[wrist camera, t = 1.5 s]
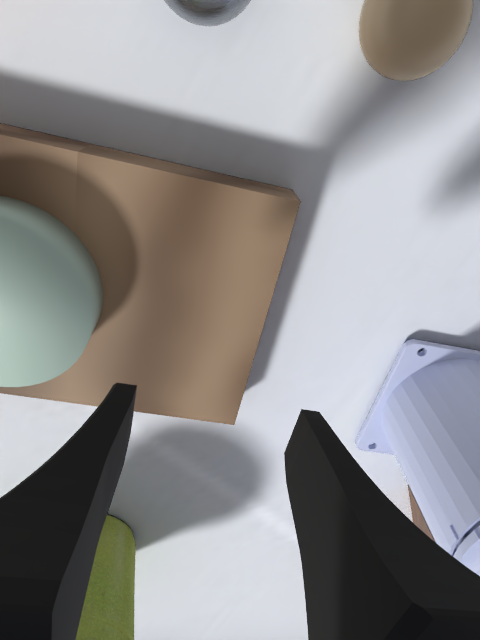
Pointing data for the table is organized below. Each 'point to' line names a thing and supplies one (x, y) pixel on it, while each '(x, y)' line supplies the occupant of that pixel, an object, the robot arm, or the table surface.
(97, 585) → the plant pot
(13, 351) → the green smooth pebble
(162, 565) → the table surface
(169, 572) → the table surface
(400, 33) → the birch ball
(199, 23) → the steel ball
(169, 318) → the brown flat rectangular block
